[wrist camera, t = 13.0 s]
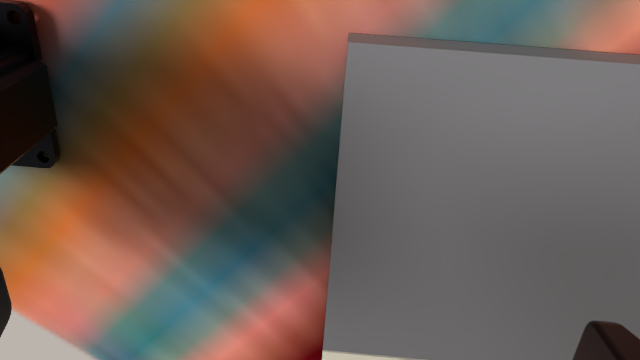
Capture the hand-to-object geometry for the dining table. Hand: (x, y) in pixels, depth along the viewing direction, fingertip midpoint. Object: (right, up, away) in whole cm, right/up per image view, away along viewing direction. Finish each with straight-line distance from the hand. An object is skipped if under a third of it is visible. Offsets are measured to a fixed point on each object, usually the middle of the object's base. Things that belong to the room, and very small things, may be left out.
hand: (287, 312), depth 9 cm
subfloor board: (+9, -2, +15) cm, 18 cm away
